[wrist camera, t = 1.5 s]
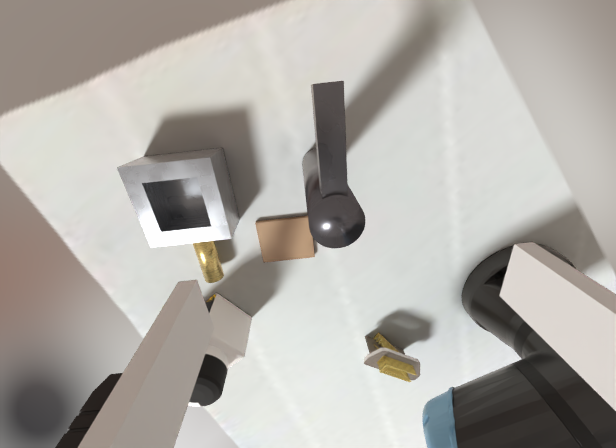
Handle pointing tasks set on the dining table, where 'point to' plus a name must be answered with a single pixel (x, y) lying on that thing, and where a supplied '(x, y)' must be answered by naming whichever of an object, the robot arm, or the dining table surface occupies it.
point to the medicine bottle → (220, 349)
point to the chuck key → (330, 173)
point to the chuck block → (184, 202)
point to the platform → (391, 359)
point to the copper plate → (285, 239)
